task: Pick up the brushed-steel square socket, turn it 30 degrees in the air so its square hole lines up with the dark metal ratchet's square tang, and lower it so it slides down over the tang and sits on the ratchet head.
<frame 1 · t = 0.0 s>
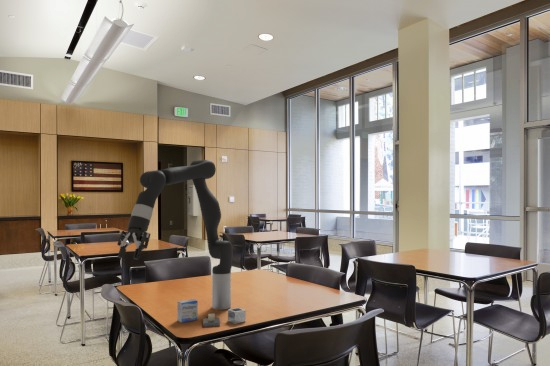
hand: (127, 258, 147), 31 cm above the table, tool tilted 20°, fingers open, 8 cm apart
medicine box: (187, 320, 174), on the table
socket: (236, 321, 172), on the table
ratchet: (211, 324, 168), on the table
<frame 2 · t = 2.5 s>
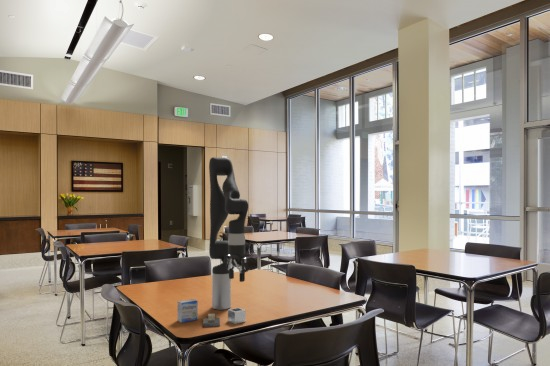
hand: (236, 280, 173), 18 cm above the table, tool pointing down, fingers open, 8 cm apart
nothing on the table moved.
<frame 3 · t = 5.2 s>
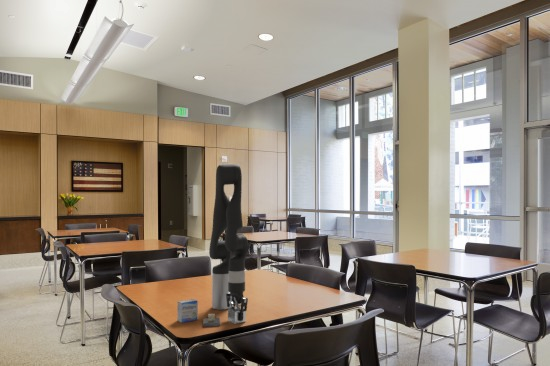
hand: (236, 318, 172), 1 cm above the table, tool pointing down, fingers closed on socket, 5 cm apart
socket: (236, 321, 172), on the table, touching gripper
everything else where it was.
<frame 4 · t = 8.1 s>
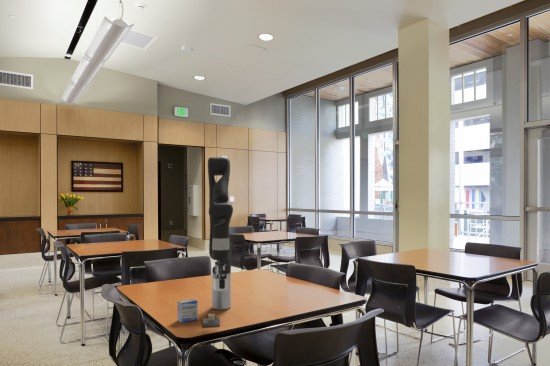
hand: (220, 287, 170), 16 cm above the table, tool pointing down, fingers closed on socket, 5 cm apart
socket: (220, 289, 170), point 15 cm above the table, touching gripper
everything else where it was.
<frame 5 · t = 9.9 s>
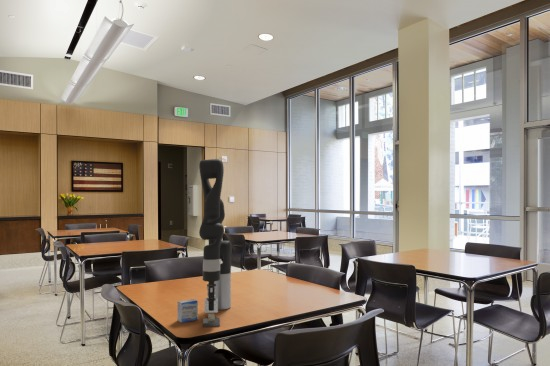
hand: (211, 308, 169), 7 cm above the table, tool pointing down, fingers closed on socket, 5 cm apart
socket: (211, 310, 168), point 6 cm above the table, touching gripper
everything else where it was.
when the fingers open (3 cm above the table, at t = 11.3 s): socket stays where it is, resting on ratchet.
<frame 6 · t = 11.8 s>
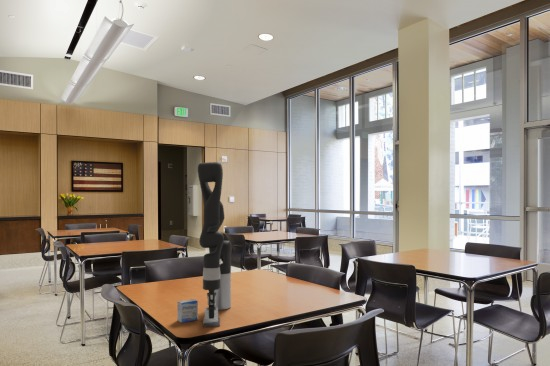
hand: (211, 315, 168), 4 cm above the table, tool pointing down, fingers open, 8 cm apart
socket: (211, 320, 168), point 1 cm above the table, touching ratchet
everything else where it was.
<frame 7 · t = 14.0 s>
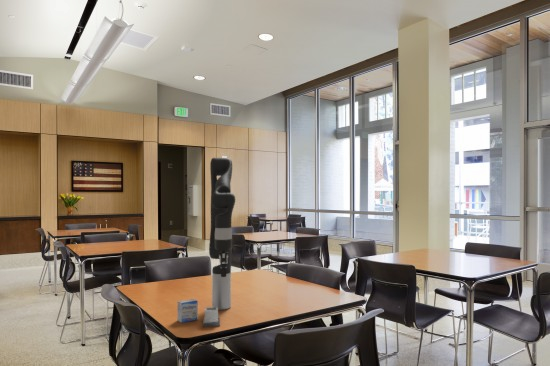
hand: (223, 274, 171), 21 cm above the table, tool pointing down, fingers open, 8 cm apart
nothing on the table moved.
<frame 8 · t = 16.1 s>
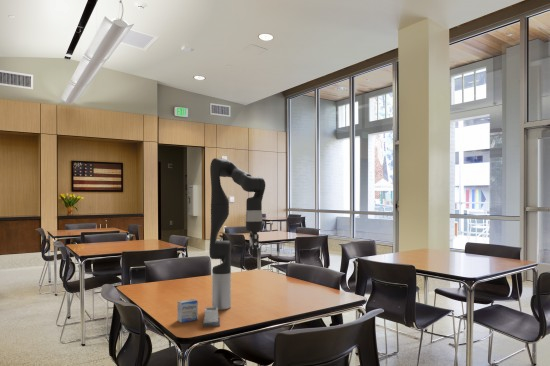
hand: (254, 256, 177), 28 cm above the table, tool pointing down, fingers open, 8 cm apart
nothing on the table moved.
at the end: socket 0.0 cm off-centre on the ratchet, point 1.5 cm above the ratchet's base; socket tilted 0°; the gripper is holding nothing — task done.
